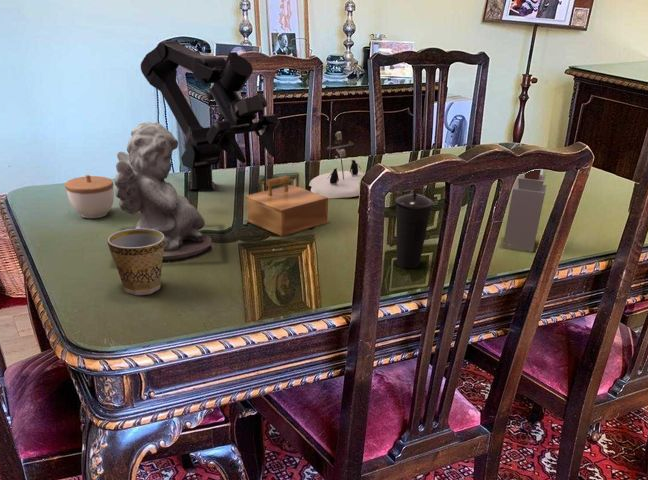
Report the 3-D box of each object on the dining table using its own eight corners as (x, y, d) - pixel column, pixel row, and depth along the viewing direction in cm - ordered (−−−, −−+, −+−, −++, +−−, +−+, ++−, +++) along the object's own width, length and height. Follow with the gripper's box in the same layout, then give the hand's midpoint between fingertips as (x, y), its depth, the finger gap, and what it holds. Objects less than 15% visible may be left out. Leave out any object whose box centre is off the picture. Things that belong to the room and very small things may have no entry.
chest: (248, 221, 154) (247, 199, 151) (293, 209, 163) (293, 188, 160) (281, 236, 146) (281, 213, 143) (327, 222, 155) (328, 201, 152)
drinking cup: (430, 261, 137) (441, 167, 126) (419, 274, 131) (430, 176, 120) (397, 254, 139) (405, 162, 129) (384, 266, 133) (392, 170, 123)
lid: (245, 198, 151) (244, 179, 149) (291, 187, 160) (291, 169, 158) (281, 213, 143) (281, 193, 141) (328, 200, 152) (328, 181, 150)
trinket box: (124, 208, 159) (119, 170, 154) (106, 223, 150) (100, 183, 145) (82, 205, 159) (76, 168, 155) (62, 219, 150) (54, 180, 145)
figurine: (357, 172, 190) (355, 116, 181) (391, 190, 177) (391, 130, 168) (297, 187, 182) (292, 129, 173) (329, 206, 169) (325, 145, 160)
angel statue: (114, 267, 128) (94, 139, 115) (124, 228, 147) (107, 115, 134) (225, 262, 132) (218, 138, 119) (221, 225, 151) (214, 115, 138)
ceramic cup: (171, 296, 118) (166, 245, 113) (114, 301, 115) (106, 249, 110) (167, 268, 128) (161, 221, 123) (115, 273, 126) (107, 224, 121)
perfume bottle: (534, 242, 149) (550, 164, 140) (532, 252, 143) (549, 172, 134) (505, 237, 151) (519, 161, 141) (502, 247, 145) (516, 168, 136)
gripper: (210, 85, 143) (242, 145, 142) (274, 79, 154) (304, 134, 153) (193, 116, 152) (223, 172, 151) (255, 108, 163) (283, 160, 162)
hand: (260, 159), depth 154 cm, fingers open, 9 cm apart
